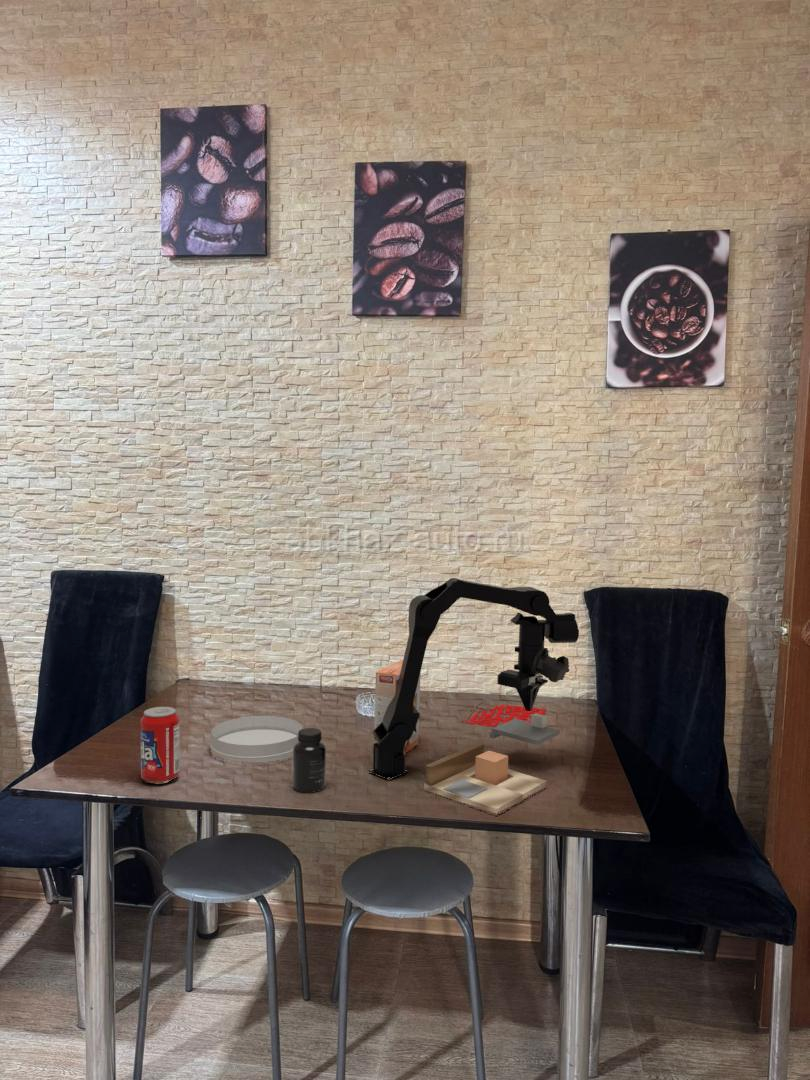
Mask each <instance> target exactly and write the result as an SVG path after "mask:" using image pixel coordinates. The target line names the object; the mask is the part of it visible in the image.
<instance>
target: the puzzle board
mask: <svg viewBox="0 0 810 1080" xmlns="http://www.w3.org/2000/svg"><path fill="white" fill-rule="evenodd" d="M482 753H485V744H484V743H482V742H478V743H475V744H473V745H471V746H468V747H465V748H463V749H461V750H459V751H456V752H454V753H452V754H449V755H447V756H445V757H444V756H443V758H440V759H438V760H435V761H433V762H431V763H429V764H427V765H425V782H424V784H423V785H424V788H423V789H426V790H429V791H431V792H434V793H437V794H439V795H442V796H445V797H448V798H450V799H453V800H456V801H459V802H462V803H466V804H469V805H473V806H476V807H479V808H482V809H485V810H487V811H490V812H493V813H496V814H497V813H498V812H500V811H502V810H504V809H505V808H507V807H509V806H511V805H513V804H514V803H516V802H518V801H519V800H521V799H523V798H525V797H527V796H528V795H530V794H532V793H533V792H535V791H537V790H539V789H540V788H542V787H544V786H546V785H548V783H547V782H548V781H547V780H545V779H541V778H539V777H535V776H532V775H529V774H526V773H522V772H519V771H516V770H512V769H510V768H508V780H506V781H504V782H502V783H500V784H498V785H493V784H490V783H487V782H484V781H481V780H478V779H475V765H476V756H478V755H480V754H482Z"/></svg>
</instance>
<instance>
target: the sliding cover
mask: <svg viewBox="0 0 810 1080" xmlns="http://www.w3.org/2000/svg"><path fill="white" fill-rule="evenodd" d="M530 716H531V718H530V719H531V723H530V722H527V721H528V720H526V721H523V720H519V719H516V718H513V719H512V720H511V721H509V722H508V721H507V722H506V723H504V724H502V723H501V724H500V725H497V726H496V727H492V728H491V731H489V738H491V739H496V738H498V737H501V736H502V737H506V738H509V739H510V738H511V739H514V740H517V741H521V742H526V743H528V744H533V745H537V746H538V745H540V744H542V743H545V742H546V741H548V740H551V739H554V738H555V737H558V736H559V735H560V734H561V730H560V729H558V728H555V727H550V726H547V724H548V723H547V722H548V721H547V720H548V719H547V718H548V716H547V715H545V714H544V715H540V714H536V713H535V714H530Z"/></svg>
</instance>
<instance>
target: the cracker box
mask: <svg viewBox="0 0 810 1080" xmlns="http://www.w3.org/2000/svg"><path fill="white" fill-rule="evenodd" d="M402 663H403V660H399V661H396V662H394V663H392V664H390V665H388V666H385V667H383V668H382V669H380V670H379V669H378V670H377V671H375V684H374V685H375V691H374V720H373V721H374V726H373V730H374V729H375V728H376V727H377V726H378V725H379V724H380V723H381V722H382V721H383V717H384V715H385V712H386V710H387V708H388V705H389V704H390V702H391V701H392V699H393V698H394V696H395V693H396V689H397V685H398V680H399V676H400V672H401V667H402ZM421 675H422V674H421V672H420V676H419V680H418V684H417V689H416V693H415V697H414V703H413V705H414V707H415V708H416V709H417V711H418V712H419V713H420V703H421V702H420V700H421V698H420V697H421ZM419 724H420V718H419V719H418V721H417V724H416V732H415V731H414V730H413V734H412V737H411V738H410V739H409V740H407V741H406V743H405V746H404V754H405V753H406V752H408V751H409V750H411V749H412V748H413V747H415V746H416V745H417V744H418V745H419V729H420V725H419ZM375 743H377V741H376V740H375V738H374V737H373V744H375ZM416 747H417V746H416ZM416 747H415V748H416ZM412 750H413V749H412ZM412 750H411V751H412ZM409 752H410V751H409ZM409 752H408V753H409ZM405 755H406V754H405Z"/></svg>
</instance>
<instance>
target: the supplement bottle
mask: <svg viewBox="0 0 810 1080" xmlns="http://www.w3.org/2000/svg"><path fill="white" fill-rule="evenodd" d="M298 741H299V742H298V743H297V744H296V745H295V746H294V748H293V758H292V761H293V762H292V786H293V788H294V790H296V791H297V790H298V791H297V792H300V791H302V792H301V793H304V792H312V793H314V792H313V791H317V792H319V791H318V790H320V791H321V789H322V788H323V789H324V788H325V786H326V766H327V765H326V764H327V762H326V761H327V755H326V754H327V750H326V745H325V744H324V742H322V731H321V730H320V728H315V727H307V728H306V727H305V728H304V727H303V729H301V730H300V731H299V732H298ZM323 789H322V790H323Z"/></svg>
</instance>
